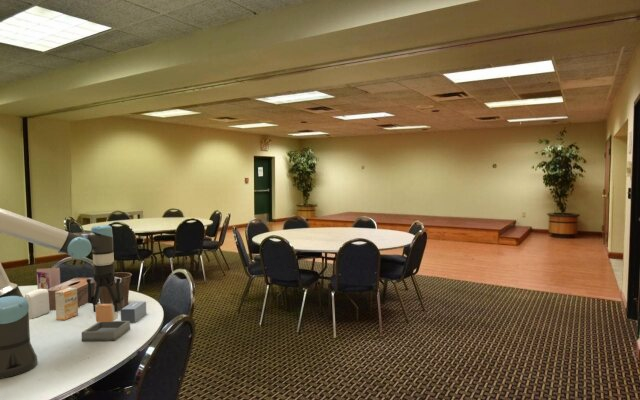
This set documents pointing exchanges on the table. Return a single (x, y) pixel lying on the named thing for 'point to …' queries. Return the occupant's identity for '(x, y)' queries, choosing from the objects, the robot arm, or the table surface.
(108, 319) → the stub
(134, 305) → the block
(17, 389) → the table surface
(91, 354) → the table surface
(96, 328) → the tray
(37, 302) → the photo printer
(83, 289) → the tissue box cover
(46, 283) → the pink box
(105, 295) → the plant pot
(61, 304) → the supplement box
